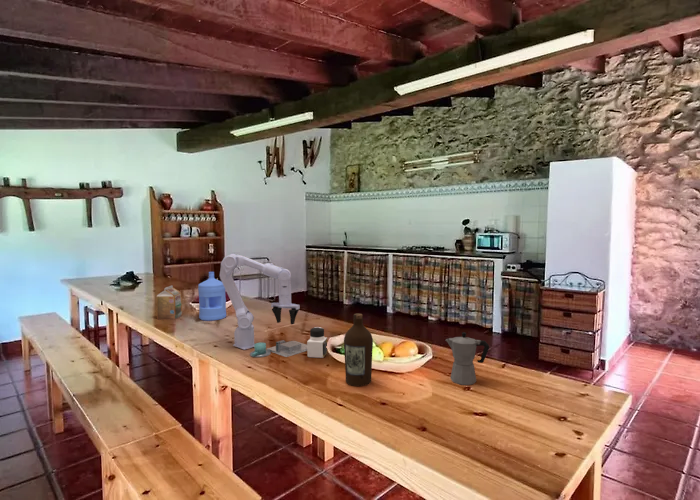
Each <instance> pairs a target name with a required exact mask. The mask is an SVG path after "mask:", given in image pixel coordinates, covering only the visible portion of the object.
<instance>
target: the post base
mask: <svg viewBox="0 0 700 500" xmlns="http://www.w3.org/2000/svg"><path fill="white" fill-rule="evenodd" d="M266 350H268V351H270V352H271V353H274V354H277V355H279V356H281V357H285V358H288V357H291V356H294V355H299V354H301V353H304V352H307V343H302V342H300V341H296V340H290V341H286V340H284V339H282V340H278V341H276V342H275V346H272V347H266Z"/></svg>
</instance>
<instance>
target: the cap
mask: <svg viewBox="0 0 700 500" xmlns="http://www.w3.org/2000/svg"><path fill="white" fill-rule="evenodd" d="M253 348H254V350H253V351H255V352H254V353H252V356H256V355H263V354H265V353H266V350H267V343H266V342H256V343H254V347H253ZM252 356H251V357H252Z"/></svg>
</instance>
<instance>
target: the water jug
mask: <svg viewBox="0 0 700 500" xmlns="http://www.w3.org/2000/svg"><path fill="white" fill-rule="evenodd" d="M197 285H198V288H197V292H198V302H199V303H198V304H199V307H198V309H199V310H198V311H199V314H198V318H199V319H200V320H202V321H207V322H208V321H209V322H210V321H211V322H212V321H219V320H223V319H225V318H226V317H227V300H226V299H227V298H226V289H225V287H224V285H223V283H222V281H221V280H219V279H217V278H215V271H208V278H207V279H206V280H204V281H202V282H200V283H198V284H197Z"/></svg>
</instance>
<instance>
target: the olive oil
mask: <svg viewBox="0 0 700 500" xmlns="http://www.w3.org/2000/svg"><path fill="white" fill-rule="evenodd" d="M352 319H353V324H352V326H351V327H350V328H349V329H348V330H346V332H345V334H344V337H343V350H344V366H345V367H344V370H345V371H344V372H345V383H346V384H347V385H349V386H353V387H365V386H368V385H370V384H371V383H372V371H373V369H372V368H373V365H372V364H373V344H374V339H373V335H372V333H371V332H370V330H368V328H367V327H366V326H365V325H364V323H363V322H364V321H363V320H364V318H363V314H362V313H354V314H353V318H352Z"/></svg>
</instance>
